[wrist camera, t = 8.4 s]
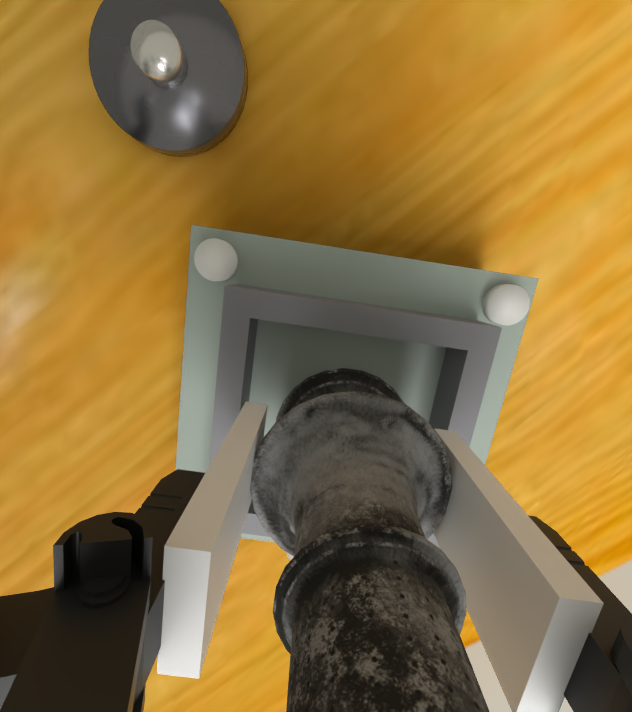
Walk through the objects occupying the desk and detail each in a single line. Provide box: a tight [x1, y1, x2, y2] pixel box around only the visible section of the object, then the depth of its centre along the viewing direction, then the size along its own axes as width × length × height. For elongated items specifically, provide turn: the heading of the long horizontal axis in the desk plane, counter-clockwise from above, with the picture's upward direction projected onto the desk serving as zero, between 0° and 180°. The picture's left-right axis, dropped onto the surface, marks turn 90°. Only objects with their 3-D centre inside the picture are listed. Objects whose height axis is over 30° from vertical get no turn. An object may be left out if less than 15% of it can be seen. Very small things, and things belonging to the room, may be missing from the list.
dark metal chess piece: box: [250, 368, 489, 712], centre depth 8 cm, size 6×6×12 cm
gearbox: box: [176, 225, 538, 560], centre depth 17 cm, size 14×16×7 cm
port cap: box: [89, 0, 248, 157], centre depth 16 cm, size 7×7×2 cm
